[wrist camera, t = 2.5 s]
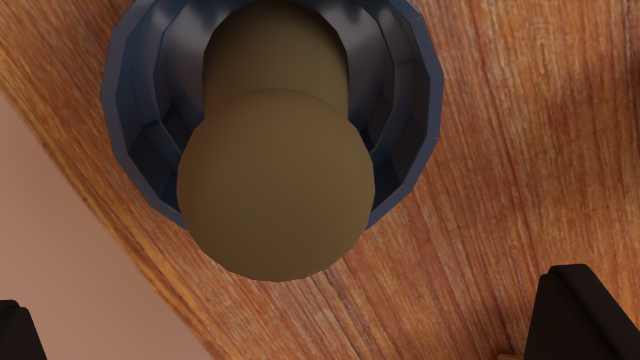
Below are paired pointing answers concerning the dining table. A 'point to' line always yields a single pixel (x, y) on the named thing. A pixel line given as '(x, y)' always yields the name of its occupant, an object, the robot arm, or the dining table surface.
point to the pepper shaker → (275, 147)
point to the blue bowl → (187, 90)
